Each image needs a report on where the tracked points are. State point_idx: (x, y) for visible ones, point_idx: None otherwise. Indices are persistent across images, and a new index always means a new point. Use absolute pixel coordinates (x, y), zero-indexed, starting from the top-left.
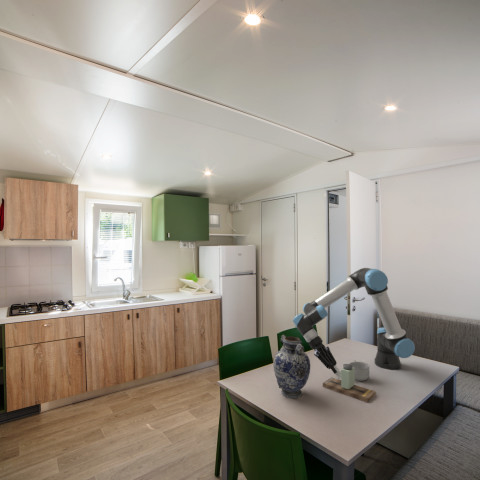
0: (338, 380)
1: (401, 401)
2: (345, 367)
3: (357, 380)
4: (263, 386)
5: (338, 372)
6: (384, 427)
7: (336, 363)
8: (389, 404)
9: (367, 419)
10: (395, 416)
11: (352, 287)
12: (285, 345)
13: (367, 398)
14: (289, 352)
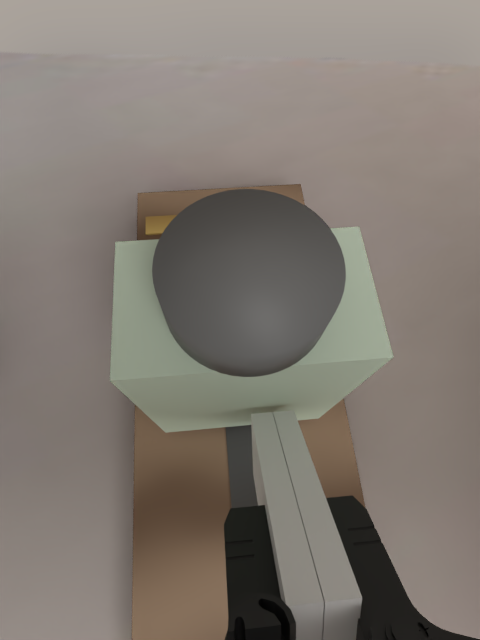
0: (160, 563)
1: (113, 98)
2: (339, 277)
3: None
4: None
5: (314, 470)
6: (458, 69)
7: (247, 609)
8: (207, 123)
9: (476, 135)
10: (314, 70)
11: None
12: None
13: (300, 187)
14: None
